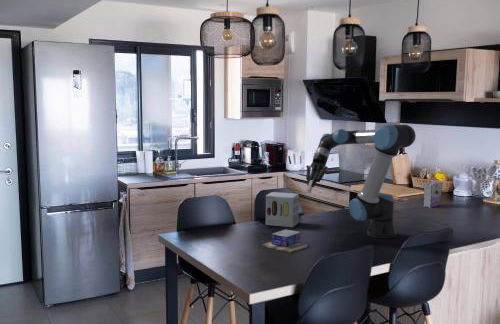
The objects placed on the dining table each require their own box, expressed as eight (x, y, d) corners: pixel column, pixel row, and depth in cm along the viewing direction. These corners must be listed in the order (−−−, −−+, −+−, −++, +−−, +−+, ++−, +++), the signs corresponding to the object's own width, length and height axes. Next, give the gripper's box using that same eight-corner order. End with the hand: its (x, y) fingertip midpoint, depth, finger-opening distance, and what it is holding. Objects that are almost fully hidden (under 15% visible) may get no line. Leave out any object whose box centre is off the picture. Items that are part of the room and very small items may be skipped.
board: (307, 247, 257) (307, 245, 257) (290, 253, 247) (290, 251, 247) (280, 240, 270) (280, 238, 270) (262, 246, 260) (262, 244, 260)
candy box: (433, 204, 363) (434, 181, 361) (441, 205, 358) (442, 182, 356) (422, 206, 354) (423, 183, 352) (430, 208, 350) (431, 184, 348)
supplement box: (265, 225, 304) (264, 195, 302) (272, 220, 316) (272, 191, 314) (293, 227, 298) (293, 197, 295) (299, 222, 310) (299, 193, 308)
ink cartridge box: (285, 239, 269) (268, 244, 258) (285, 229, 269) (268, 233, 258) (300, 242, 263) (283, 247, 252) (300, 231, 262) (284, 236, 251)
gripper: (333, 162, 286) (321, 196, 274) (312, 161, 293) (299, 194, 281) (330, 153, 281) (317, 187, 269) (308, 152, 288) (295, 186, 276)
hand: (308, 191), depth 275 cm, fingers closed
